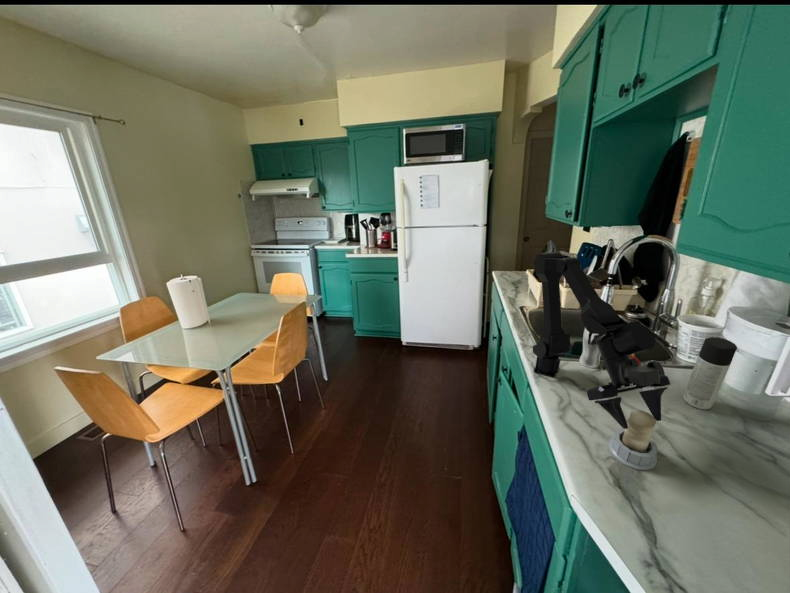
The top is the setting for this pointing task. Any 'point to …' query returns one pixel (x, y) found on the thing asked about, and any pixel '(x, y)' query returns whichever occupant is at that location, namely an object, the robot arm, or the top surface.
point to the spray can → (709, 372)
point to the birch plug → (638, 431)
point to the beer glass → (590, 351)
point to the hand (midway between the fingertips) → (642, 424)
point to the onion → (635, 358)
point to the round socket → (632, 453)
